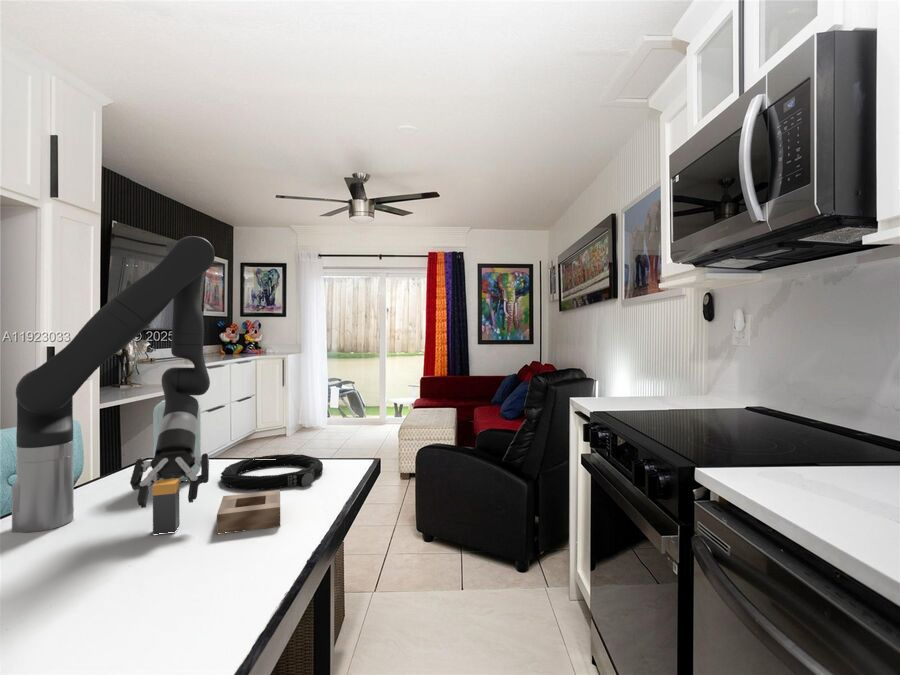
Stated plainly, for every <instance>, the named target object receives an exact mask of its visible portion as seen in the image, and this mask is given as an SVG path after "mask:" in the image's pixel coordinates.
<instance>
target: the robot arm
mask: <svg viewBox="0 0 900 675" xmlns="http://www.w3.org/2000/svg"><path fill="white" fill-rule="evenodd" d="M215 254H216V253H215V248H214V246H213V245H212V244H211V243H210V241H208V239H206V238H204V237H201V236H195V235H190V236H189V235H188V236H184V237H182V238H180V239H179V240H177V241H175V242H174V243H173V244H172V245H171V246H170V248H169V250H168V253H167V255H166V256H165V257H164V258H163V259H162V260H161V261H160V262H159V263H158V264H157V265H156V266H155V267H154V268H153V269H151V271H149V272H148V273H147V274H145V275H143V276H142V277H140V278H139V279H137V280H136V281H134V282H132V283H131V284H130V285H128V286H126V287H125V288H124V289H122V290H121V291H120V292H119V293H117V294H116V295H115V296H113V297H112V298H111V299H110V300H109V301H108V302H107V303H106V304H105V305H103V306H102V307H101V308H100V309H99V310H98V311H96V312H95V313H94V315H93V316H91V317H90V319H89V320H88V321H87V322H86V323H85V324H84V325H83V327H81V329H80V330H79V331H78V332H77V334H76V335H75V336H74V338H72V340H71V341H70V342H68V344H67V345H66V346H65V347H63V348H62V349H61V350H59V352H57V353H56V354H55V355H53V356H51V358H50V359H48V360H47V361H46V362H44V363H43V364H41V365H40V366H38V367H36V368H35V369H33V370H30V371H29V372H27V373H26V374H24V375H23V376H22V378H21V379H20V380H19V381H18V382H17V384H16V388H15V396H16V436H15V437H16V483H14V484H12V485H11V532H22V533H33V532H42V531H47V530H51V529H55V528H59V527H61V526H64V525H67V524H69V523H71V522H72V521H73V520H74V512H75V508H74V507H75V506H74V504H75V503H74V491H75V490H74V417H73V412H74V410H73V409H74V407H73V406H74V403H73V399H74V398H73V397H74V395H76V393H77V392H79V389H80V388H81V387H82V386H83V385H84V383H86V382H87V380H88V379H89V378H90V377H91V376H92V375H93V374H94V373H95V372H96V370H98V369H99V368H100V367H101V366H102V365H104V364H105V363H106V362H107V361H108V360H110V359H111V358H112V357H114V356H115V355H116V354H118V353H119V352H120V351H122V349H124V348H125V347H126V346H127V345H129V344H130V343H131V342H132V341H133V340H135V339H136V338H137V336H139V335H140V334H141V333H142V332H143V331H144V330H145V329H146V328H147V327H148V326H150V324H151V323H152V322H153V321H154V320H155V319H156V318H157V317H158V316H159V315H160V314H161V313H162V312H163V311H164V310H165V309H166V307H167V306H168V304H170V302H171V301H172V300H173V301H172V307H173V308H172V322H171V323H172V324H171V345H170V347H171V350H170V351H171V355H172V356H173V357H175V358H177V359H178V358H180V359H186V360H188V361H190V362H191V363H192V364H193V366H194V367H184V366H183V367H178V366H177V367H176V366H175V367H169V368H168V369H166V370H165V371H164V372H163V374H162V375H161V387H162V391H163V395H164V400H165V410H164V415H163V420H162V423H161V426H160V430H159V435H158V441H157V446H156V451H155V456H154V455H153V458H152V459H151V460H143V459H142V458H138V459H137V460H136V461H135V464H134V467H133V471H132V474H131V478H130V482H129V483H130V486H131V488H132V490H133V491H137V490H138V494H137V497H136V498H137V500H136V501H137V503H138V506H140V508H142V509H144V508H147V503H148V500H149V499H148V498H149V493H150V489H151V488H153V485H154V484H155V482H156V481H157V480H161V479H171V478H180V477H182V476H184V477H185V478H186V479H187V480H188V481H187V482H189V486H188V487H189V488H188V495H187V500H188V503H189V504H190V503H194V500H196V499H197V497H198V490H199V486H200V484H207V483H208V482H209V478H210V477H209V475H210V474H209V473H210V472H209V471H210V470H209V469H210V460H209V455H208V453H206V452H205V453H203V454H201V456H200V457H194V449H195V441H196V437H197V415H198V407H199V405H200V404H199V401H198V400H197V399H196V398H195V397H194V396H202V395H205V394H206V393H207V391H208V390H209V389H210V385H211V381H210V375H209V373H208V369H207V365H206V361H205V356H204V336H205V335H204V334H205V330H204V329H205V328H204V327H205V326H204V325H205V324H204V323H205V322H204V316H203V315H204V314H203V310H202V304H201V303H202V302H201V301H202V300H201V286H202V280H203V274H204V273H205V272H207V271H208V270H209V269H210V268H211V267H212V266H213V264H214V261H215ZM198 404H199V405H198ZM195 463H198V465H199V466H200V467H201V468H200V474H199V475H195V474H194V473H193V471H192V470H191V467H192V466H193V465H194V464H195ZM149 468H151V469H152V470H150V471H149V472H148V474H147V476H146V477H144V479H143V475H144V473H146V472H147V471H148V469H149Z"/></svg>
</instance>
